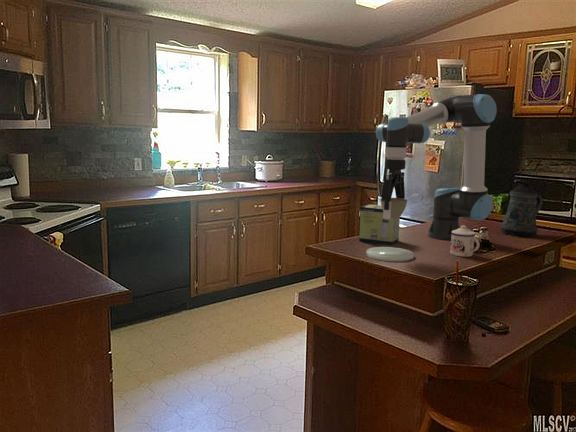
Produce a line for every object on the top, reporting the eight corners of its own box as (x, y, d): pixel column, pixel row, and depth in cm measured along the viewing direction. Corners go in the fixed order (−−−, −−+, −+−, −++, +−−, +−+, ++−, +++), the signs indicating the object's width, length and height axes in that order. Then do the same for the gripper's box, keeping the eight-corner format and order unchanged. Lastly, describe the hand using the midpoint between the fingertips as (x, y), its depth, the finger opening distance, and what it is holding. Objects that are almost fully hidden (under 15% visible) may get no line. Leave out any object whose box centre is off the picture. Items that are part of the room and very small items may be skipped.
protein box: (365, 237, 232) (367, 203, 229) (398, 241, 225) (401, 206, 222) (358, 241, 222) (360, 206, 220) (393, 245, 216) (395, 209, 213)
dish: (378, 248, 209) (378, 244, 209) (420, 255, 199) (420, 251, 199) (358, 256, 194) (358, 252, 194) (402, 264, 184) (403, 260, 184)
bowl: (406, 220, 188) (407, 201, 187) (379, 218, 190) (380, 200, 189) (405, 216, 198) (406, 198, 197) (380, 214, 200) (381, 196, 199)
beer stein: (495, 234, 247) (500, 183, 243) (508, 229, 262) (513, 181, 258) (531, 239, 237) (537, 186, 232) (542, 233, 251) (548, 183, 247)
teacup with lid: (444, 253, 203) (447, 225, 201) (458, 250, 208) (460, 223, 207) (470, 259, 194) (473, 230, 192) (484, 256, 199) (487, 228, 197)
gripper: (397, 157, 202) (394, 212, 205) (374, 159, 183) (370, 219, 187) (415, 158, 198) (412, 214, 201) (393, 160, 179) (389, 221, 183)
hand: (392, 216), depth 194 cm, fingers closed on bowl, 10 cm apart
